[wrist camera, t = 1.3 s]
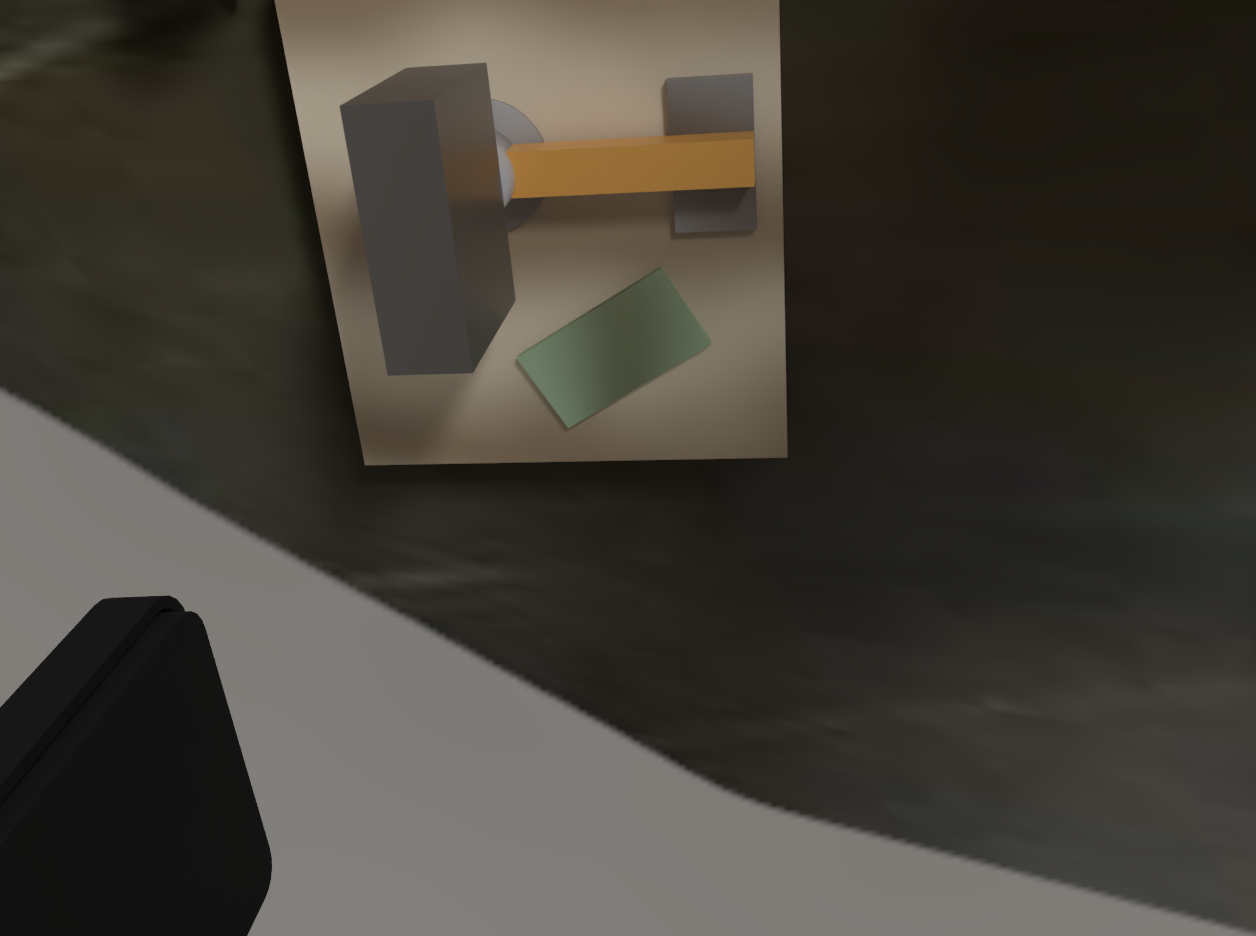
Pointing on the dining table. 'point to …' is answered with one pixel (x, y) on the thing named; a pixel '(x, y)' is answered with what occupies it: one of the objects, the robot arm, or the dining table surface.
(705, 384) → the dial board
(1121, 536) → the dining table surface
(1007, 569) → the dining table surface
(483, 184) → the latch
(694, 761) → the dining table surface
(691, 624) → the dining table surface
